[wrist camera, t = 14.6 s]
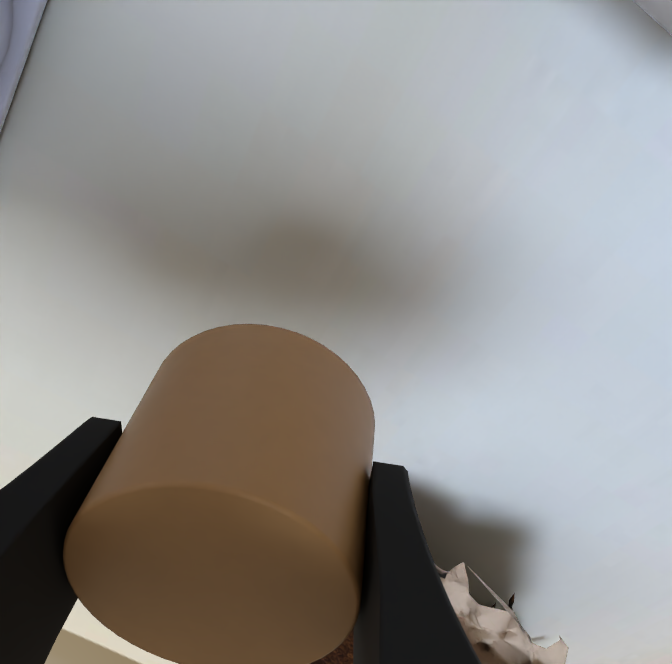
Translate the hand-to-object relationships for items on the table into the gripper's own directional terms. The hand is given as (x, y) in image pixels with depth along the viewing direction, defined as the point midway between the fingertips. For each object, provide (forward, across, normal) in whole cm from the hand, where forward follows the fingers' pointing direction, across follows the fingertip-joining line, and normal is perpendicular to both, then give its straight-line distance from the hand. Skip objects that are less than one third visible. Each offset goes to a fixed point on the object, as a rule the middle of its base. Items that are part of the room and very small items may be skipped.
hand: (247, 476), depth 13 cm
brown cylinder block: (+2, 0, 0) cm, 2 cm away
